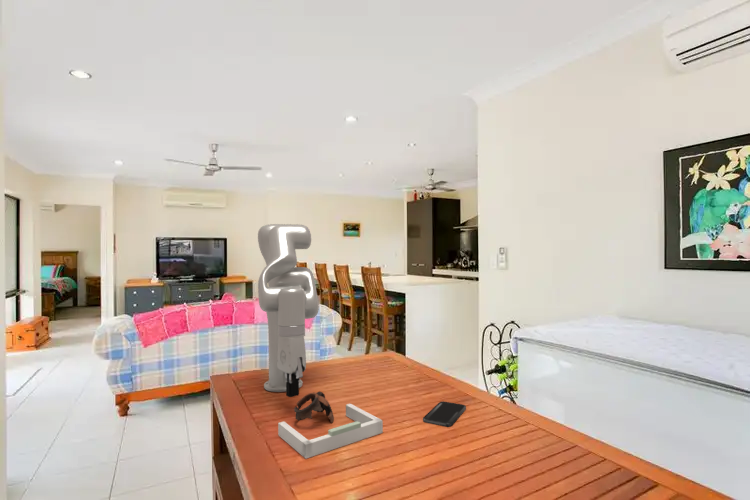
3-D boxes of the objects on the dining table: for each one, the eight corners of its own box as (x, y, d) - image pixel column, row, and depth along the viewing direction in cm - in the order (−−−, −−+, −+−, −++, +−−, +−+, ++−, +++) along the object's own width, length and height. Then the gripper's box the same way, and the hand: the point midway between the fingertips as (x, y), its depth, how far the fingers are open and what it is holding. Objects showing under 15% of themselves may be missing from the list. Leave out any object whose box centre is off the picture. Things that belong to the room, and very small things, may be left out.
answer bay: (278, 435, 100) (278, 418, 100) (350, 414, 112) (350, 399, 112) (305, 458, 88) (305, 440, 88) (382, 432, 101) (382, 416, 101)
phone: (421, 419, 107) (440, 400, 120) (421, 423, 107) (440, 404, 120) (450, 424, 103) (467, 405, 116) (450, 429, 103) (467, 409, 116)
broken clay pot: (334, 430, 104) (318, 404, 102) (302, 444, 105) (286, 419, 103) (340, 401, 115) (325, 378, 114) (311, 414, 117) (296, 391, 115)
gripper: (269, 329, 121) (269, 392, 121) (290, 335, 109) (291, 405, 109) (292, 327, 126) (293, 387, 125) (315, 332, 114) (316, 399, 113)
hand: (292, 395), depth 117 cm, fingers closed
